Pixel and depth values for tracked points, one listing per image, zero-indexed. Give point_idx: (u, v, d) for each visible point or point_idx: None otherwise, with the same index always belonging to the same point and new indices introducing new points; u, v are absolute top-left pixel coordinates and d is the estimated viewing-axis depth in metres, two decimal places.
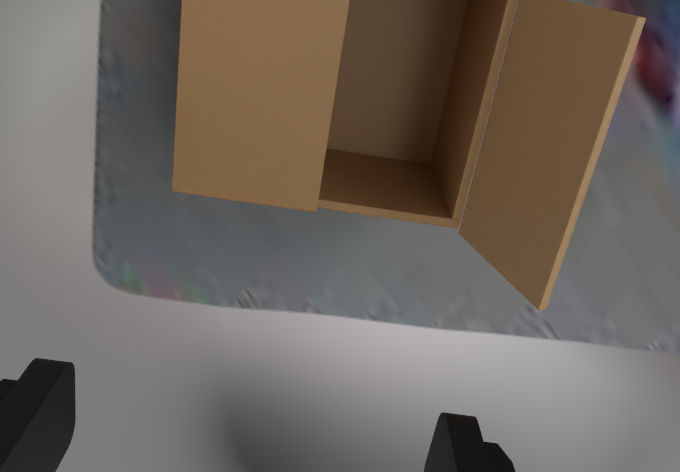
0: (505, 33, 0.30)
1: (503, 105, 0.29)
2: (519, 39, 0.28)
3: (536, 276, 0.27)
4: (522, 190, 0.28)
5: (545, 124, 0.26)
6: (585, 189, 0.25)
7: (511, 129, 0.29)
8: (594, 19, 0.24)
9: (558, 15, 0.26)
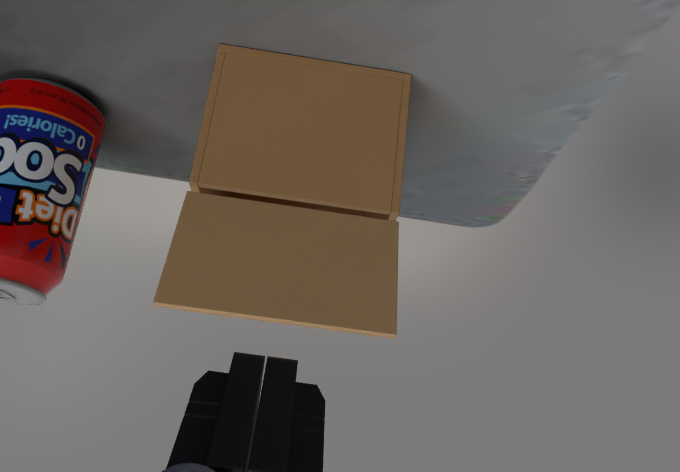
0: (224, 188, 0.36)
1: None
2: None
3: None
4: None
5: None
6: (285, 321, 0.31)
7: None
8: None
9: None
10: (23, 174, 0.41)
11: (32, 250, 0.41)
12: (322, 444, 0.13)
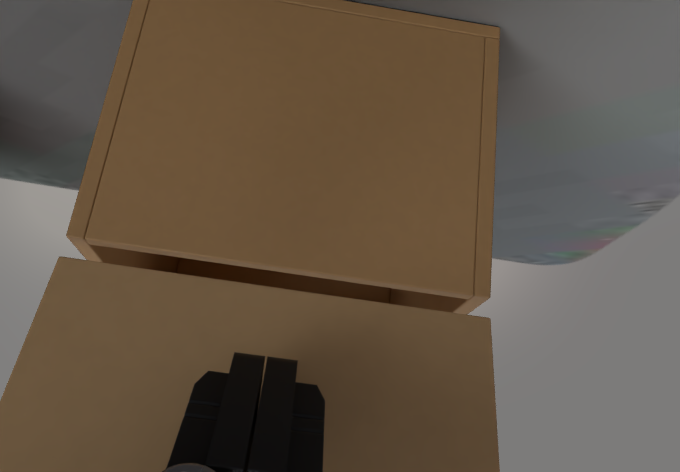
0: (139, 248, 0.18)
1: None
2: None
3: None
4: None
5: None
6: None
7: None
8: None
9: None
10: None
11: None
12: (322, 444, 0.13)
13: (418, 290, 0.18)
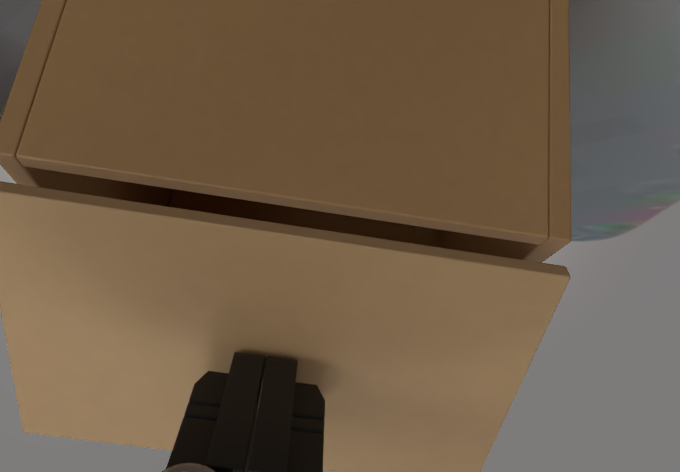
0: (91, 171, 0.13)
1: None
2: None
3: None
4: None
5: None
6: None
7: None
8: None
9: None
10: None
11: None
12: (322, 444, 0.13)
13: (473, 231, 0.14)
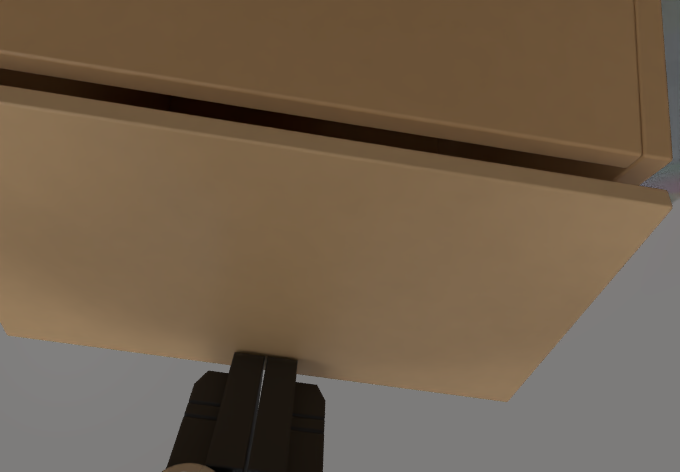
0: (28, 63, 0.10)
1: None
2: None
3: None
4: None
5: None
6: None
7: None
8: None
9: None
10: None
11: None
12: (322, 444, 0.13)
13: (540, 149, 0.10)
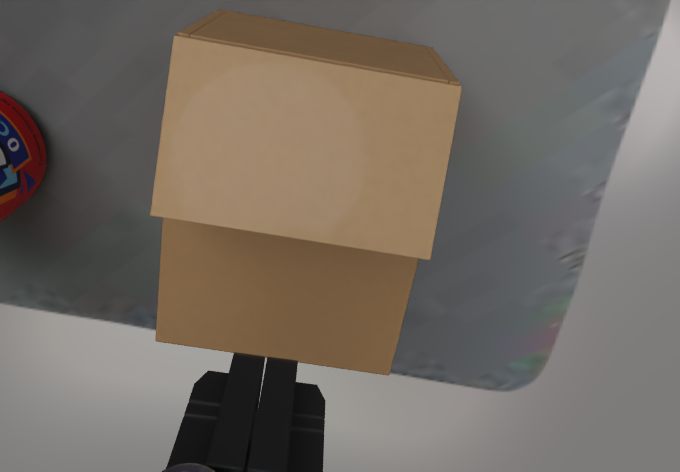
0: None
1: None
2: None
3: None
4: None
5: None
6: (302, 239, 0.27)
7: None
8: None
9: None
10: None
11: None
12: (322, 444, 0.13)
13: None
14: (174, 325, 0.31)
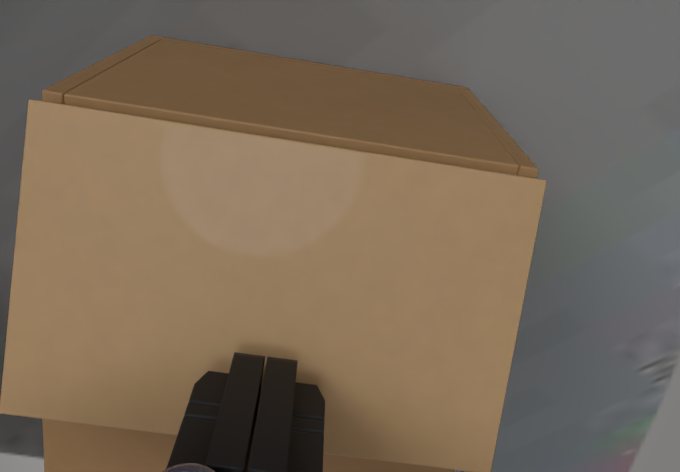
0: (126, 111, 0.15)
1: None
2: None
3: None
4: None
5: None
6: None
7: None
8: None
9: None
10: None
11: None
12: (322, 444, 0.13)
13: None
14: None
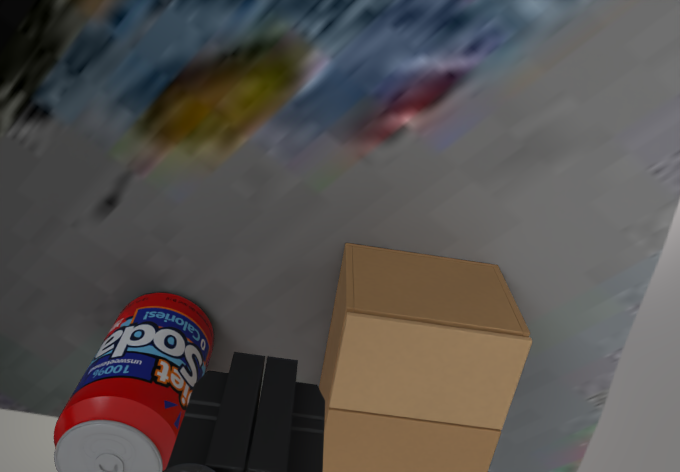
0: (376, 314, 0.40)
1: None
2: None
3: None
4: None
5: None
6: (422, 418, 0.43)
7: None
8: None
9: None
10: (161, 349, 0.44)
11: (166, 408, 0.40)
12: (322, 444, 0.13)
13: (498, 332, 0.41)
14: None
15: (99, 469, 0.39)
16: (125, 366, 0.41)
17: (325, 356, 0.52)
